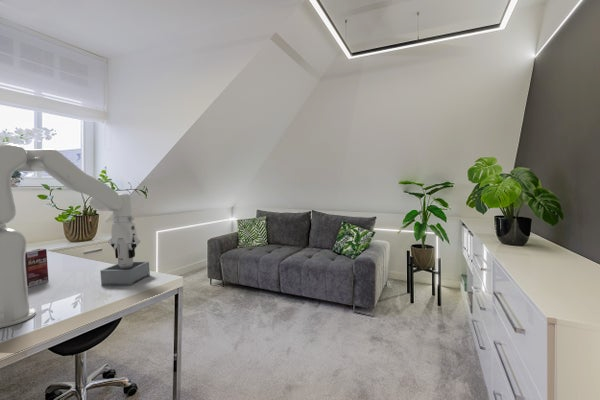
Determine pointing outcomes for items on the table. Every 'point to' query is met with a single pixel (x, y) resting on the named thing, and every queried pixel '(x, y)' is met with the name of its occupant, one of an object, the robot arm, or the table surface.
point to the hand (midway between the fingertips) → (125, 257)
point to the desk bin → (124, 274)
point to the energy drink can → (123, 254)
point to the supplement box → (36, 267)
